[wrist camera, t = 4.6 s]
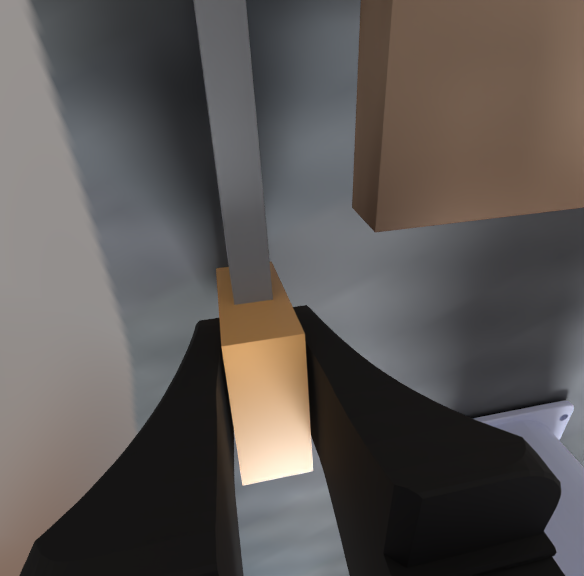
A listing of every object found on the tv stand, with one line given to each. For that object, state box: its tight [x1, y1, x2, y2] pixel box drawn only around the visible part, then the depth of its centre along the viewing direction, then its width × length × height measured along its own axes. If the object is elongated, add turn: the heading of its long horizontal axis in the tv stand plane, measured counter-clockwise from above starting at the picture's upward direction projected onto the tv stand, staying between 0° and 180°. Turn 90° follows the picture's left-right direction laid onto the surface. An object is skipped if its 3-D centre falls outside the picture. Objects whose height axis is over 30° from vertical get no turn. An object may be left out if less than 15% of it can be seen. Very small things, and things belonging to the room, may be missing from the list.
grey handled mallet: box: [193, 0, 313, 485], centre depth 10 cm, size 14×2×5 cm, turn 2°
